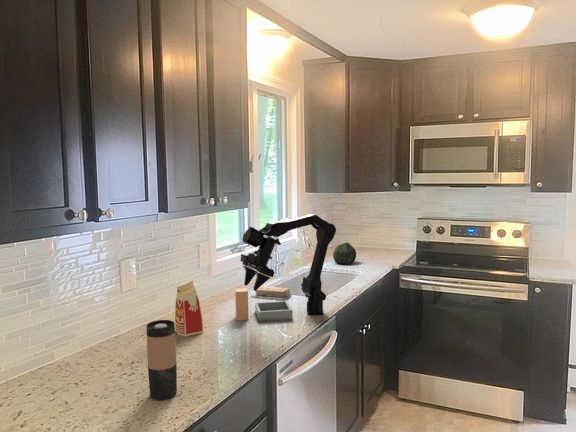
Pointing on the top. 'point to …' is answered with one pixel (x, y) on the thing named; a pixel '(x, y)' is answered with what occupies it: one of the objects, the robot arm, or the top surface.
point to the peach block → (241, 304)
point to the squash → (344, 254)
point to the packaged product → (272, 293)
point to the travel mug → (162, 359)
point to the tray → (273, 311)
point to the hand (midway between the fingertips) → (249, 287)
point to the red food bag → (188, 311)
